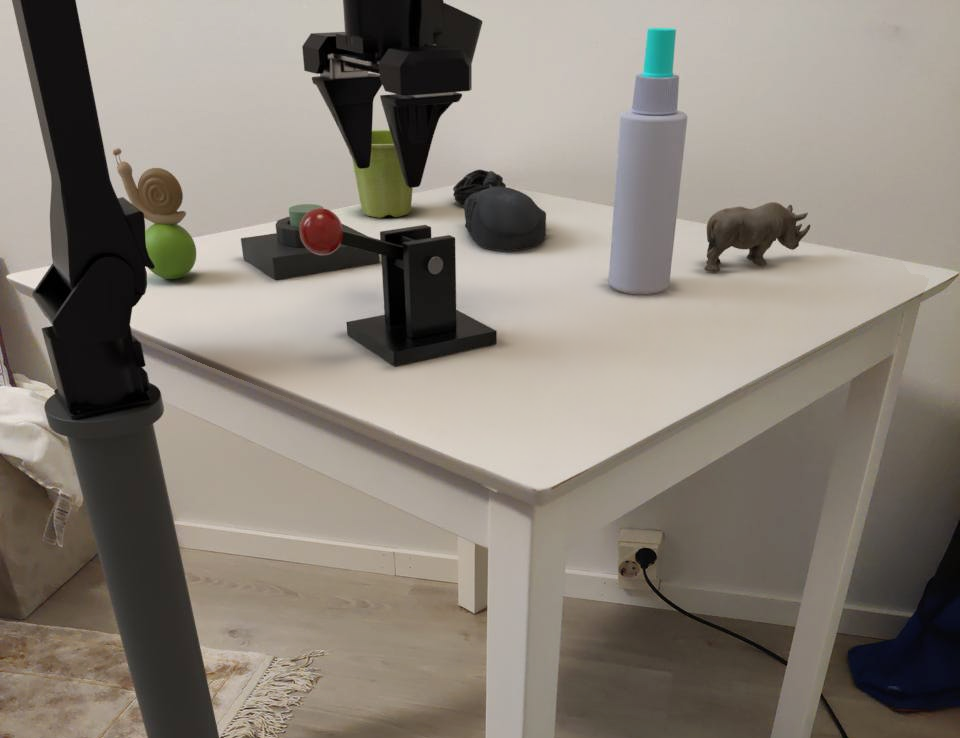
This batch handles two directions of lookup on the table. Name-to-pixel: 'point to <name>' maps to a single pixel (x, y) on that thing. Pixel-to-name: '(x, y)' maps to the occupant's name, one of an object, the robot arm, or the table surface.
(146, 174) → the snail figurine
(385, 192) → the plant pot
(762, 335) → the table surface
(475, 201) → the dark rounded piece
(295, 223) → the power button
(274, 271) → the box
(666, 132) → the spray bottle
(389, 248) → the lever
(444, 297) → the switch bracket
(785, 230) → the rhino figurine
